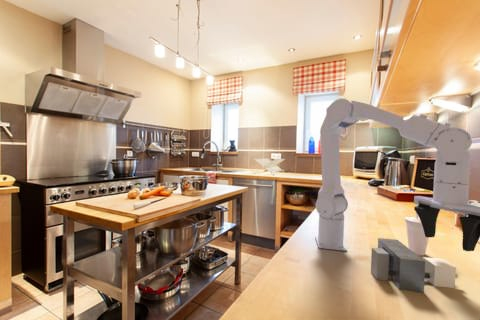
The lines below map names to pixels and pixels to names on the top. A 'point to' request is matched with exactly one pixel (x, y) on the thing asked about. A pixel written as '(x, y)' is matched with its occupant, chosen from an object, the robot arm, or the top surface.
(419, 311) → the top surface
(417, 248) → the smoothie
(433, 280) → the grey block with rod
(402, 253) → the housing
